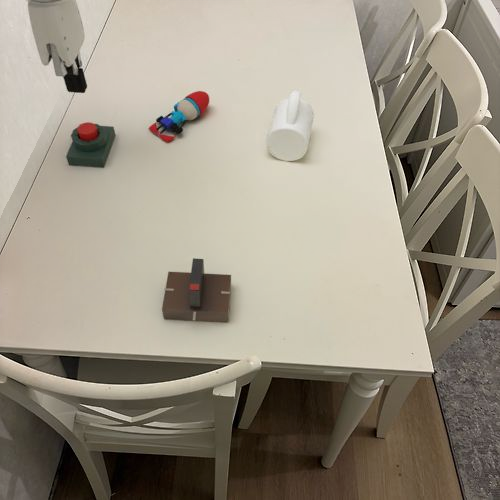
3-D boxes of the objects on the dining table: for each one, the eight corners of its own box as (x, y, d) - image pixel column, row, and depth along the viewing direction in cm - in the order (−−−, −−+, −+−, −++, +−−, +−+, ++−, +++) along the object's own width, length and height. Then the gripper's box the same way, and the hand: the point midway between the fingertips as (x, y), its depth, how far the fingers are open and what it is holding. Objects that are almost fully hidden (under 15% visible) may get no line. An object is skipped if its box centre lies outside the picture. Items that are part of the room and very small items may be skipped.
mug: (264, 158, 99) (269, 108, 89) (273, 126, 105) (278, 77, 96) (304, 164, 98) (313, 115, 89) (310, 132, 104) (319, 83, 95)
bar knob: (194, 275, 77) (192, 257, 73) (204, 275, 77) (203, 257, 73) (190, 307, 73) (188, 290, 69) (200, 308, 73) (199, 291, 69)
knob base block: (161, 328, 74) (159, 318, 72) (170, 273, 80) (169, 262, 78) (228, 331, 74) (228, 321, 72) (232, 277, 80) (232, 266, 78)
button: (95, 141, 94) (93, 134, 93) (77, 140, 94) (75, 133, 93) (100, 130, 96) (98, 122, 95) (82, 128, 96) (80, 121, 95)
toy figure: (171, 150, 101) (220, 109, 106) (165, 132, 97) (216, 91, 102) (148, 136, 105) (197, 97, 110) (141, 118, 101) (192, 79, 106)
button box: (104, 167, 95) (100, 151, 92) (68, 165, 95) (63, 149, 92) (115, 135, 101) (112, 119, 98) (82, 132, 101) (77, 116, 98)
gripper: (38, -39, 77) (68, 65, 92) (5, 7, 68) (44, 114, 83) (85, -36, 77) (108, 67, 92) (57, 10, 68) (87, 117, 83)
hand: (77, 89), depth 87 cm, fingers closed
